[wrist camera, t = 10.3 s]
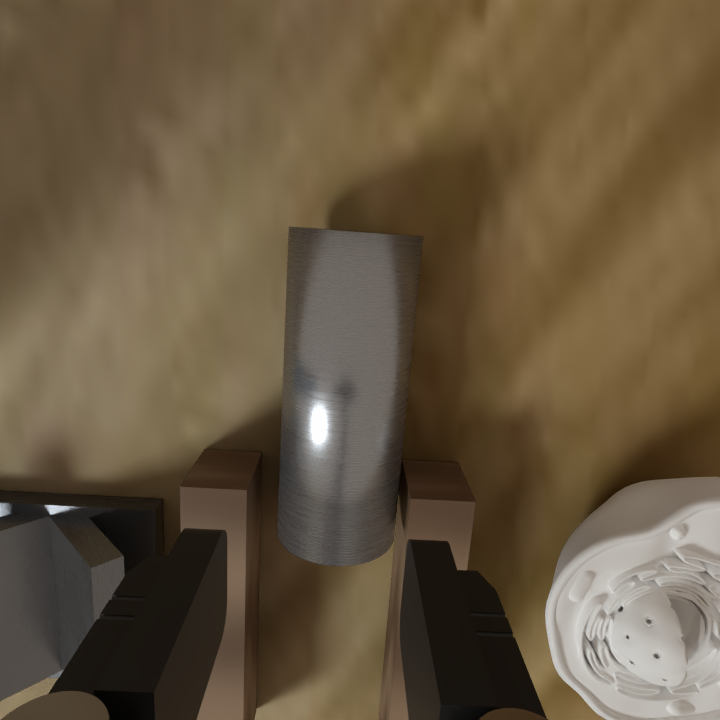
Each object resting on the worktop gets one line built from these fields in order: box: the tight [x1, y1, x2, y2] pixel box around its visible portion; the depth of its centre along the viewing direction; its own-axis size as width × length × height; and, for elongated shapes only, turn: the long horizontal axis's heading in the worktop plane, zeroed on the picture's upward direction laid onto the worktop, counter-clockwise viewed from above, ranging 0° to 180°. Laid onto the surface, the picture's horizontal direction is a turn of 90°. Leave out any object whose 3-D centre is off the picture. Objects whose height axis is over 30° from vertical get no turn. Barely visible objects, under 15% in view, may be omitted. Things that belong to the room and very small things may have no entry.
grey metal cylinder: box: [277, 227, 423, 566], centre depth 21 cm, size 12×5×5 cm, turn 176°
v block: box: [0, 491, 164, 701], centre depth 23 cm, size 9×9×4 cm
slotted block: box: [180, 449, 476, 720], centre depth 24 cm, size 14×11×4 cm
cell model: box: [545, 477, 720, 720], centre depth 22 cm, size 10×12×7 cm
